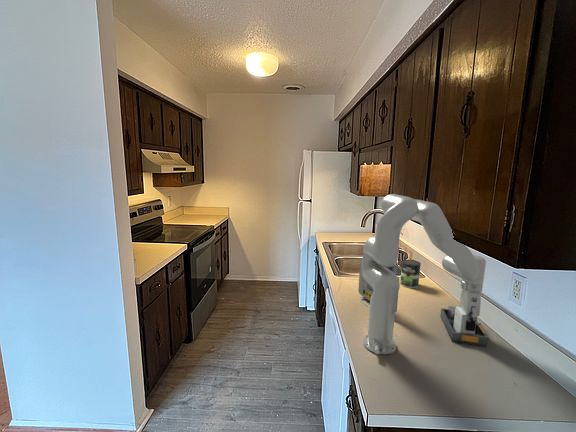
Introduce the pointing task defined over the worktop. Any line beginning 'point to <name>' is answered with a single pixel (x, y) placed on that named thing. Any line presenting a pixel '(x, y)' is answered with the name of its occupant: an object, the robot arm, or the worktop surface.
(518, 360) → the worktop surface
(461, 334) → the rack
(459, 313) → the small box
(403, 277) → the coffee can
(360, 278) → the network device
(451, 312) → the module
